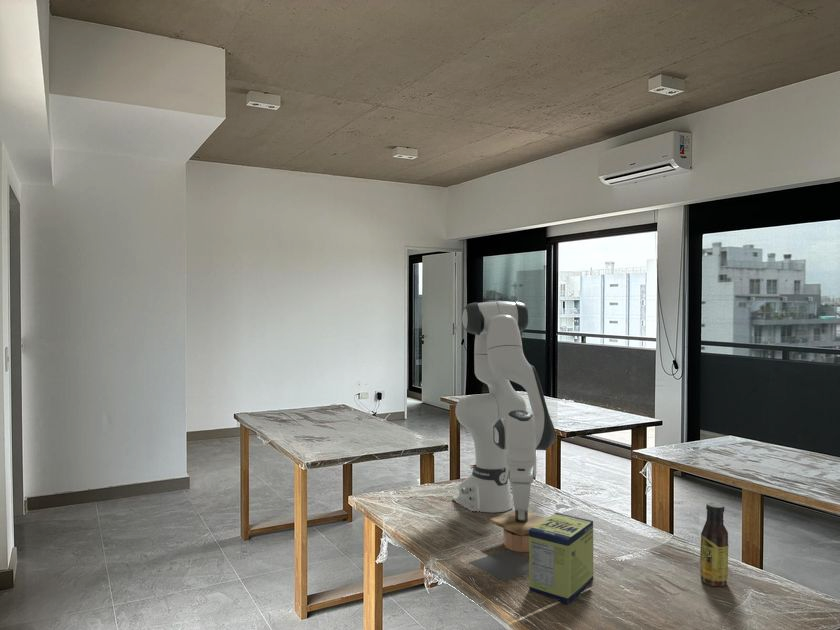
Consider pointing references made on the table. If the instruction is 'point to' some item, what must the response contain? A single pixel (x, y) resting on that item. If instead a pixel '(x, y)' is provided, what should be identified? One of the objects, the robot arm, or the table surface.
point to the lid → (517, 522)
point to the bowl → (515, 541)
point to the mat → (503, 565)
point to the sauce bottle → (714, 547)
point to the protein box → (561, 556)
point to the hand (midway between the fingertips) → (521, 515)
